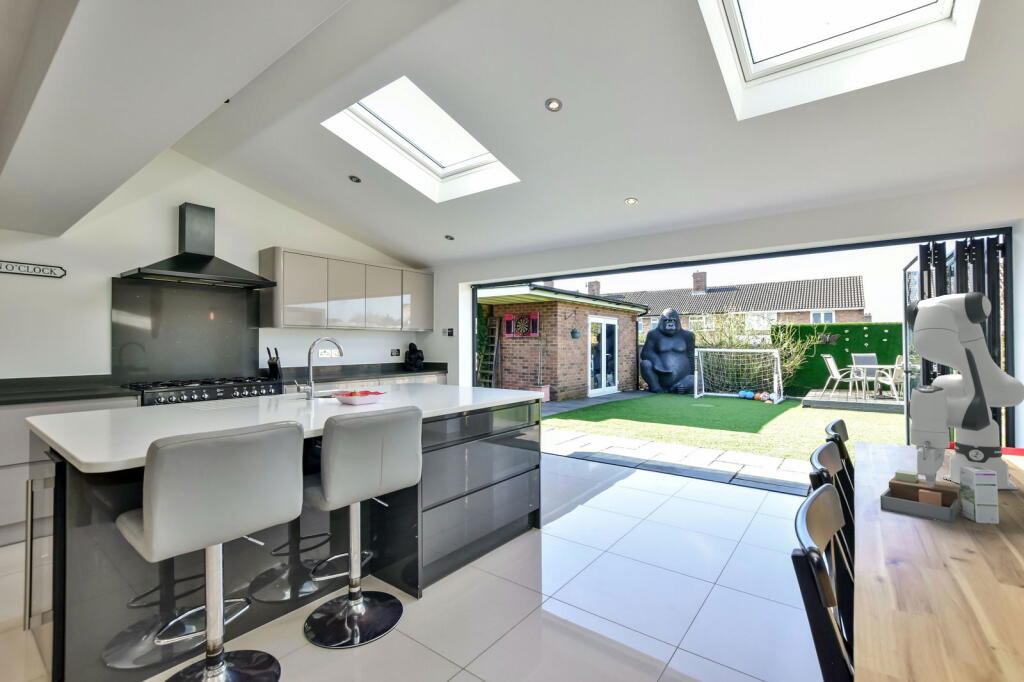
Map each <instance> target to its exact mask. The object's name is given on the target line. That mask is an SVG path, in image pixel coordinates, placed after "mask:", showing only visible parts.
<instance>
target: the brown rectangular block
mask: <svg viewBox="0 0 1024 682" xmlns="http://www.w3.org/2000/svg"><path fill="white" fill-rule="evenodd" d="M888 488H891V497H892V498H897V499H903V500H908V501H914V502H919V490H920V489H922V490H928V491H934V492H941V493H942V507H947V508H950V507H951V505H952V503H953V501H954V500H955V499H957V500H958V513H959V512H960V510H961V490H960V484H959V483H952V482H946V481H940V480H939V481H938V480H936V485H935V486H934V487H930V486H927V485H926V478H925V479H924V478H919V477H918V481H917V482H916V483H913V482H906V481H900V480H896V479H895V476H894V477H893V478H891V479H890V480H889V481H888Z"/></svg>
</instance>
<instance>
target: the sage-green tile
mask: <svg viewBox="0 0 1024 682" xmlns="http://www.w3.org/2000/svg"><path fill="white" fill-rule="evenodd" d="M894 474H895V476H894V477H895V479H896V480H900V481H906V482H913V483H916V482H917V481H918V478H919V474H918V472H917V471H911V470H907V469H906V470H905V469H897V470H896V471H895V473H894Z"/></svg>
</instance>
